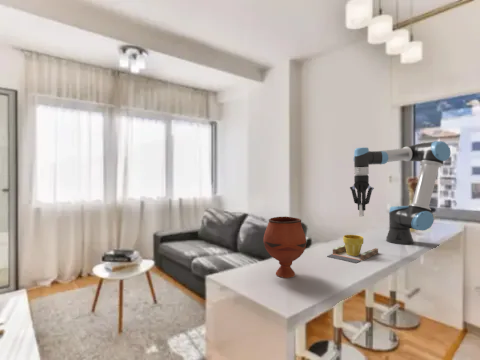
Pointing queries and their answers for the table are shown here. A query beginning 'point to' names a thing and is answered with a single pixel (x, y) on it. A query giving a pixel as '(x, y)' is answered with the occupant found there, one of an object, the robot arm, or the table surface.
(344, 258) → the mat
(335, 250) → the pair of brown bars
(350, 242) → the plant pot
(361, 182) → the robot arm
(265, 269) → the table surface
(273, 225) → the goblet
